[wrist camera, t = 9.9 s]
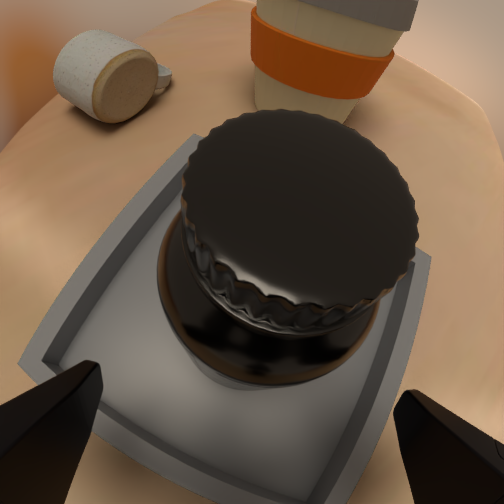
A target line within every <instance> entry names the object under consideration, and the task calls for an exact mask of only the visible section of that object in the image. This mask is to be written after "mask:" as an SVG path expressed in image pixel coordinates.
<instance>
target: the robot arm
mask: <svg viewBox="0 0 504 504" xmlns="http://www.w3.org/2000/svg"><path fill="white" fill-rule="evenodd" d="M103 387H104V384H103V378H102V372H101V367H100V364H99V363H98V362H95V361H91V360H83V361H82V362H80V363H78V364H76V365H74V366H73V367H71V368H69V369H67V370H65V371H63V372H62V373H60V374H58V375H56V376H54V377H52V378H51V379H49V380H47V381H45V382H43V383H41V384H39V385H38V386H36V387H34V388H32V389H30V390H28V391H26V392H25V393H23V394H21V395H19V396H17V397H15V398H13V399H12V400H10V401H8V402H6V403H4V404H2V405H0V504H64V503H65V500H66V497H67V494H68V491H69V489H70V486H71V483H72V480H73V478H74V475H75V472H76V470H77V467H78V464H79V462H80V459H81V457H82V454H83V452H84V449H85V447H86V444H87V442H88V439H89V437H90V434H91V431H92V427H93V424H94V420H95V416H96V413H97V409H98V406H99V403H100V399H101V396H102V393H103ZM393 416H394V421H395V426H396V431H397V436H398V441H399V447H400V452H401V456H402V459H403V463H404V466H405V470H406V473H407V477H408V481H409V484H410V488H411V492H412V496H413V500H414V504H504V444H502V443H500V442H499V441H497V440H496V439H493V438H492V437H491V436H489V435H487V434H486V433H484V432H483V431H481V430H479V429H478V428H476V427H475V426H473V425H471V424H470V423H468V422H467V421H465V420H463V419H462V418H460V417H459V416H457V415H456V414H454V413H452V412H451V411H449V410H448V409H446V408H445V407H443V406H442V405H440V404H438V403H437V402H435V401H434V400H432V399H431V398H429V397H428V396H426V395H425V394H423V393H421V392H420V391H418V390H416V389H413V390H406V391H404V392H403V394H402V395H401V397H400V399H399V401H398V402H397V404H396V406H395V408H394V411H393Z"/></svg>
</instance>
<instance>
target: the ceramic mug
mask: <svg viewBox="0 0 504 504" xmlns="http://www.w3.org/2000/svg"><path fill="white" fill-rule="evenodd" d="M53 71H54V72H53V80H54V84H55V88H56V90H57V92H58V93H59V94H60V95H61V96H62V97H63V98H65V99H66V100H68V101H70V102H71V103H72V104H74V105H75V106H77V107H78V108H80V109H81V110H83V111H84V112H85V113H87V114H88V115H90V116H91V117H93V118H95V119H97V120H100V121H102V122H107V123H118V122H122V121H125V120H127V119H129V118H131V117H132V116H134V115H135V114H137V113H138V112H139V111H140V110H142V108H143V107H144V106H145V105H146V104H147V103H148V101H149V100H150V98H151V97H152V95H153V93H154V90H155V89H162V88H165V87H167V86H168V85H169V82H170V79H171V76H172V71H171V70H170V69H169V68H167V67H165V66H163V65H160V64H158V63H157V62H156V60H155V58H154V57H153V56H152V55H151V54H150V53H149V52H148V51H147V50H146V49H144V48H142V47H141V46H139V45H137V44H135V43H132V42H130V41H127V40H125V39H122V38H120V37H118V36H116V35H114V34H112V33H109V32H106V31H103V30H91V31H86V32H84V33H81V34H79V35H77V36H76V37H74V38H73V39H72V40H71V41H69V42H68V43H67V44H66V45H65V46H64V48H63V49H62V50H61V52H60V54H59V55H58V57H57V60H56V63H55V66H54V70H53Z"/></svg>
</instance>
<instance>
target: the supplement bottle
mask: <svg viewBox="0 0 504 504" xmlns="http://www.w3.org/2000/svg"><path fill="white" fill-rule="evenodd" d="M180 203H181V209H180V210H179V211H178V212H177V214H176V215H175V216H174V218H173V220H172V221H171V223H170V225H169V226H168V228H167V230H166V232H165V235H164V237H163V240H162V243H161V246H160V250H159V254H158V260H157V288H158V294H159V298H160V302H161V306H162V308H163V311H164V314H165V317H166V319H167V321H168V323H169V325H170V327H171V329H172V331H173V333H174V334H175V336H176V337H177V339H178V341H179V342H180V344H181V345H182V347H183V348H184V350H185V351H186V353H187V354H188V356H189V357H190V359H191V360H192V362H193V363H194V364H195V366H196V367H197V368H198V369H199V370H200V371H201V372H202V373H203V374H204V375H205V376H207V377H208V378H209V379H211V380H212V381H214V382H216V383H218V384H220V385H222V386H225V387H227V388H231V389H235V390H243V391H258V390H268V389H277V388H285V387H290V386H296V385H300V384H304V383H307V382H310V381H313V380H315V379H318V378H320V377H322V376H325V375H326V374H328V373H330V372H332V371H334V370H335V369H337V368H338V367H340V366H341V365H342V364H344V363H345V362H346V361H347V360H348V359H349V358H350V357H352V356H353V354H354V353H355V352H356V351H357V350H358V349H359V348H360V347H361V345H362V344H363V342H364V341H365V339H366V338H367V336H368V335H369V333H370V331H371V329H372V327H373V325H374V322H375V320H376V317H377V314H378V310H379V307H380V301H381V298H383V297H384V296H386V295H387V294H388V293H390V292H391V290H392V289H393V288H394V286H395V284H396V282H398V281H399V280H400V279H402V278H403V277H404V276H405V274H406V273H407V270H408V266H409V262H410V261H411V260H412V259H413V258H414V257H415V255H416V249H415V243H416V242H417V240H418V238H419V233H418V229H417V223H418V220H419V218H418V215H417V213H416V210H415V200H414V198H413V197H412V195H411V194H410V192H409V188H408V184H407V182H406V181H405V180H404V179H403V177H402V176H401V175H400V173H399V170H398V168H397V167H396V166H395V165H394V164H393V163H392V162H391V161H390V160H389V159H388V157H387V156H386V154H385V153H384V152H383V151H381V150H380V149H378V148H377V147H376V146H375V145H374V144H373V143H372V142H371V141H370V140H369V139H367V138H365V137H363V136H361V135H360V134H359V133H358V132H357V131H355V130H354V129H352V128H349V127H346V126H344V125H343V124H341V123H340V122H338V121H336V120H332V119H328V118H326V117H324V116H322V115H319V114H311V113H307V112H304V111H301V110H295V111H290V110H286V109H277V110H260V111H257V112H255V113H244V114H242V115H240V116H239V117H237V118H232V119H228V120H226V121H225V122H224V123H223V124H222V125H221V126H218V127H215V128H213V129H211V131H210V133H209V135H208V136H207V137H205V138H203V139H202V140H200V141H199V142H198V145H197V149H196V150H195V151H194V152H193V153H192V154H191V155H190V156H189V157H188V167H187V169H186V170H185V171H184V173H183V175H182V194H181V199H180Z"/></svg>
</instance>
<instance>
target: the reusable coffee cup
mask: <svg viewBox="0 0 504 504" xmlns="http://www.w3.org/2000/svg"><path fill="white" fill-rule="evenodd" d="M418 1H419V0H257V6H256V7H254V8H253V9H252V11H251V58H252V61H253V62H254V64H255V97H254V100H255V105H256V107H257V109H258V111H260V110H277V109H286V110H290V111H295V110H301V111H304V112H307V113H311V114H319V115H322V116H324V117H326V118H328V119H332V120H336V121H338V122H340V123H341V124H343V123H344V121H345V120H346V118H347V117H348V115H349V114H350V112H351V111H352V109H353V108H354V106H355V105H356V103H357V102H358V100H359V99H360V98H361V97H365V96H366V95H367V94H369V92H370V91H371V90H372V88H373V87H374V85H375V84H376V82H377V81H378V79H379V78H380V76H381V75H382V73H383V72H384V70H385V69H386V67H387V66H388V64H389V63H390V62H391V60H392V59H393V57H394V51H393V47H394V46H395V44H396V43H397V41H398V40H399V38H400V37H401V35H402V34H403V32H404V31H409V30H410V28H411V24H412V21H413V18H414V14H415V11H416V8H417V4H418Z"/></svg>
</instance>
